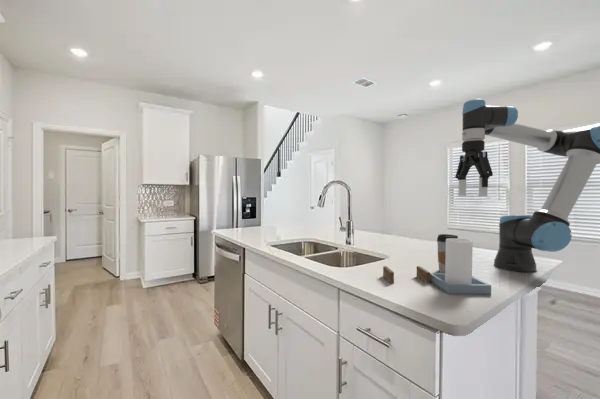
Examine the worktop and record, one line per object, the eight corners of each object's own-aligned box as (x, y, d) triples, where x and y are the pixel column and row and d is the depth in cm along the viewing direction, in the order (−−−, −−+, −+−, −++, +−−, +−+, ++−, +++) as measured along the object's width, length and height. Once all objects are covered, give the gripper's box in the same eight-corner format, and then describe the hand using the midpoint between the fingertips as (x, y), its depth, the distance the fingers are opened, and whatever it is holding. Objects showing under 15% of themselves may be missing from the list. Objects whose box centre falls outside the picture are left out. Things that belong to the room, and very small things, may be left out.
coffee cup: (436, 272, 122) (437, 236, 122) (435, 267, 130) (436, 233, 130) (459, 274, 119) (460, 237, 119) (457, 269, 127) (457, 234, 126)
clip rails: (419, 276, 117) (419, 266, 117) (429, 283, 108) (430, 272, 108) (383, 276, 117) (383, 266, 117) (390, 283, 108) (390, 272, 108)
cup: (471, 291, 98) (472, 242, 97) (443, 286, 102) (444, 240, 102) (472, 284, 105) (473, 239, 104) (446, 280, 109) (447, 237, 109)
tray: (466, 281, 111) (466, 273, 111) (491, 294, 97) (491, 285, 97) (429, 281, 110) (429, 273, 110) (448, 294, 96) (448, 285, 96)
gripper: (447, 145, 128) (446, 195, 128) (484, 135, 103) (482, 196, 103) (464, 146, 128) (463, 195, 128) (505, 135, 103) (504, 196, 103)
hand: (472, 196), depth 116 cm, fingers open, 13 cm apart
